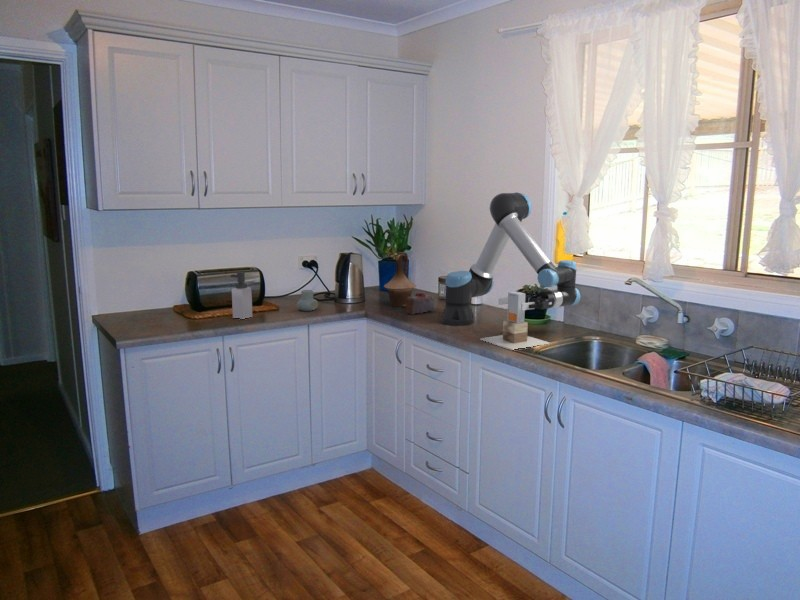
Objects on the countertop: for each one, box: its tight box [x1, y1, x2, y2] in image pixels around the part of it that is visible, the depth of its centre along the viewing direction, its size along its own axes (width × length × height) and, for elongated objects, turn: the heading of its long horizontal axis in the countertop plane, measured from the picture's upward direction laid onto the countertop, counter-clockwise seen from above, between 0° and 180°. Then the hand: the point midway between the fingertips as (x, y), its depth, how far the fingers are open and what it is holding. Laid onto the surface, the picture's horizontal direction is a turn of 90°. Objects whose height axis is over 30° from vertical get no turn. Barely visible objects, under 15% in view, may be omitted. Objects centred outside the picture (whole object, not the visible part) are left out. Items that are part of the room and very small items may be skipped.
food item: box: [405, 292, 435, 315], centre depth 320 cm, size 14×8×10 cm, turn 129°
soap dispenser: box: [230, 271, 253, 320], centre depth 305 cm, size 6×9×22 cm
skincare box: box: [506, 291, 527, 323], centre depth 260 cm, size 6×4×12 cm
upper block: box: [502, 319, 529, 334], centre depth 261 cm, size 7×7×4 cm
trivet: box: [480, 334, 550, 351], centre depth 262 cm, size 20×20×1 cm
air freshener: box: [296, 289, 319, 312], centre depth 325 cm, size 11×8×10 cm
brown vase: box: [383, 251, 417, 307], centre depth 337 cm, size 18×17×28 cm
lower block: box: [502, 330, 528, 343], centre depth 262 cm, size 7×7×4 cm
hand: (510, 304), depth 258 cm, fingers open, 13 cm apart
